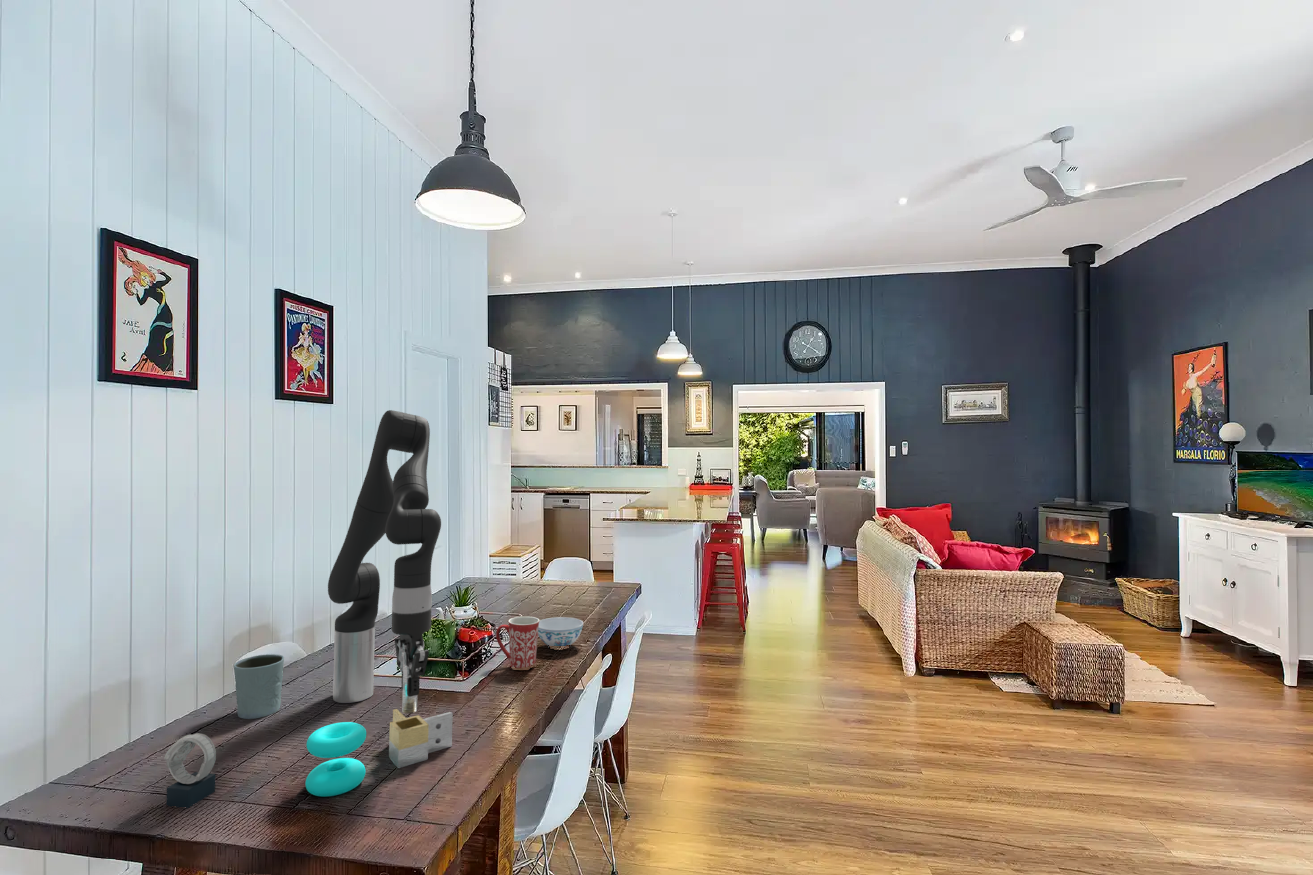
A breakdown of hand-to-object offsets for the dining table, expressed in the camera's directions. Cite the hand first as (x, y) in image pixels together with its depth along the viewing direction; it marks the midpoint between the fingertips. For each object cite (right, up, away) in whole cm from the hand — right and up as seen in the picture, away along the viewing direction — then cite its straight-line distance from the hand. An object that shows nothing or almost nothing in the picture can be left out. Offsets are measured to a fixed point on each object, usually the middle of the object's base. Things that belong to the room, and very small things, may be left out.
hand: (410, 692), depth 128 cm
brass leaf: (-2, -13, +2) cm, 14 cm away
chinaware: (+19, -16, +73) cm, 77 cm away
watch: (-33, -13, -16) cm, 39 cm away
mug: (+10, -15, +55) cm, 58 cm away
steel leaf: (+2, -13, +2) cm, 14 cm away
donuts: (-10, -13, -11) cm, 19 cm away
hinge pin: (0, -4, 0) cm, 4 cm away
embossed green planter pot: (-44, -13, +21) cm, 51 cm away
